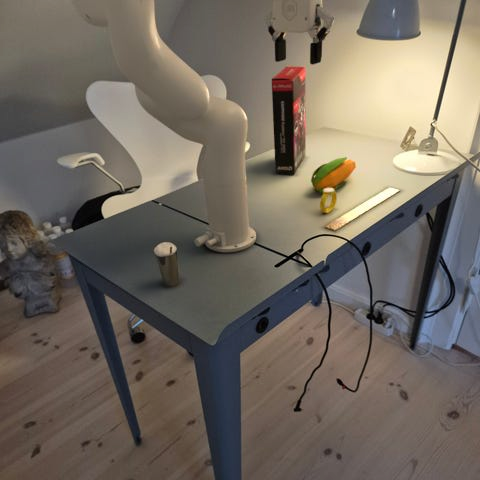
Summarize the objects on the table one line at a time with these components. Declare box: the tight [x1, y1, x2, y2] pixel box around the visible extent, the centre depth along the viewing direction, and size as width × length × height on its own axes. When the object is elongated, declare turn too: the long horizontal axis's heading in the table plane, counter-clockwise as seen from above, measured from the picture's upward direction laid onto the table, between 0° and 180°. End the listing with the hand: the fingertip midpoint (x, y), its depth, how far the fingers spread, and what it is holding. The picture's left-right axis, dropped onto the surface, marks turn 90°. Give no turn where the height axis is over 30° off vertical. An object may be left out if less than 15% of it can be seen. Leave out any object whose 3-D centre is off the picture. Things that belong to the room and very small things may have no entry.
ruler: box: [324, 187, 401, 232], centre depth 118 cm, size 30×3×1 cm, turn 135°
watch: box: [319, 188, 338, 214], centre depth 116 cm, size 6×3×6 cm, turn 139°
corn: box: [310, 157, 357, 194], centre depth 129 cm, size 7×8×20 cm
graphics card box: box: [271, 66, 306, 175], centre depth 138 cm, size 17×7×27 cm, turn 162°
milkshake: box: [153, 241, 180, 288], centre depth 93 cm, size 4×5×10 cm
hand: (297, 62), depth 100 cm, fingers open, 9 cm apart
